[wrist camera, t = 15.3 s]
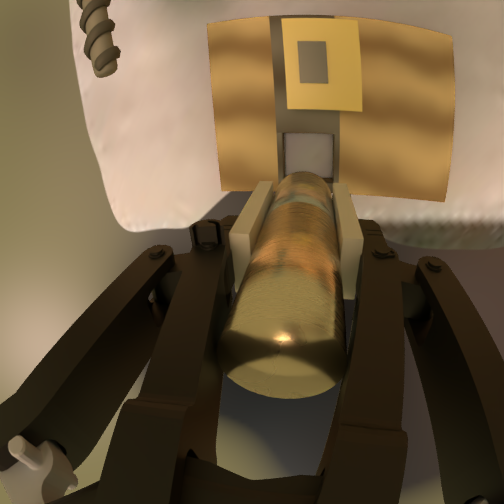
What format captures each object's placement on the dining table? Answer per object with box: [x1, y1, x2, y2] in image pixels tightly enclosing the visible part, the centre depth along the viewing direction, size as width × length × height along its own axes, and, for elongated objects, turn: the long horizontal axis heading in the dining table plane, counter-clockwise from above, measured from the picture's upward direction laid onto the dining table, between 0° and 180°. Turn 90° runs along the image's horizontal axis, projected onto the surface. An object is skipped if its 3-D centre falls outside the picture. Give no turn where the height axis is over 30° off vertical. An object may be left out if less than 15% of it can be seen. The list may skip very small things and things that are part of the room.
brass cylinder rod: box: [216, 172, 347, 399], centre depth 12 cm, size 3×3×12 cm
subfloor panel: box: [207, 15, 455, 202], centre depth 24 cm, size 18×24×2 cm
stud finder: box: [281, 18, 362, 112], centre depth 20 cm, size 8×6×4 cm
